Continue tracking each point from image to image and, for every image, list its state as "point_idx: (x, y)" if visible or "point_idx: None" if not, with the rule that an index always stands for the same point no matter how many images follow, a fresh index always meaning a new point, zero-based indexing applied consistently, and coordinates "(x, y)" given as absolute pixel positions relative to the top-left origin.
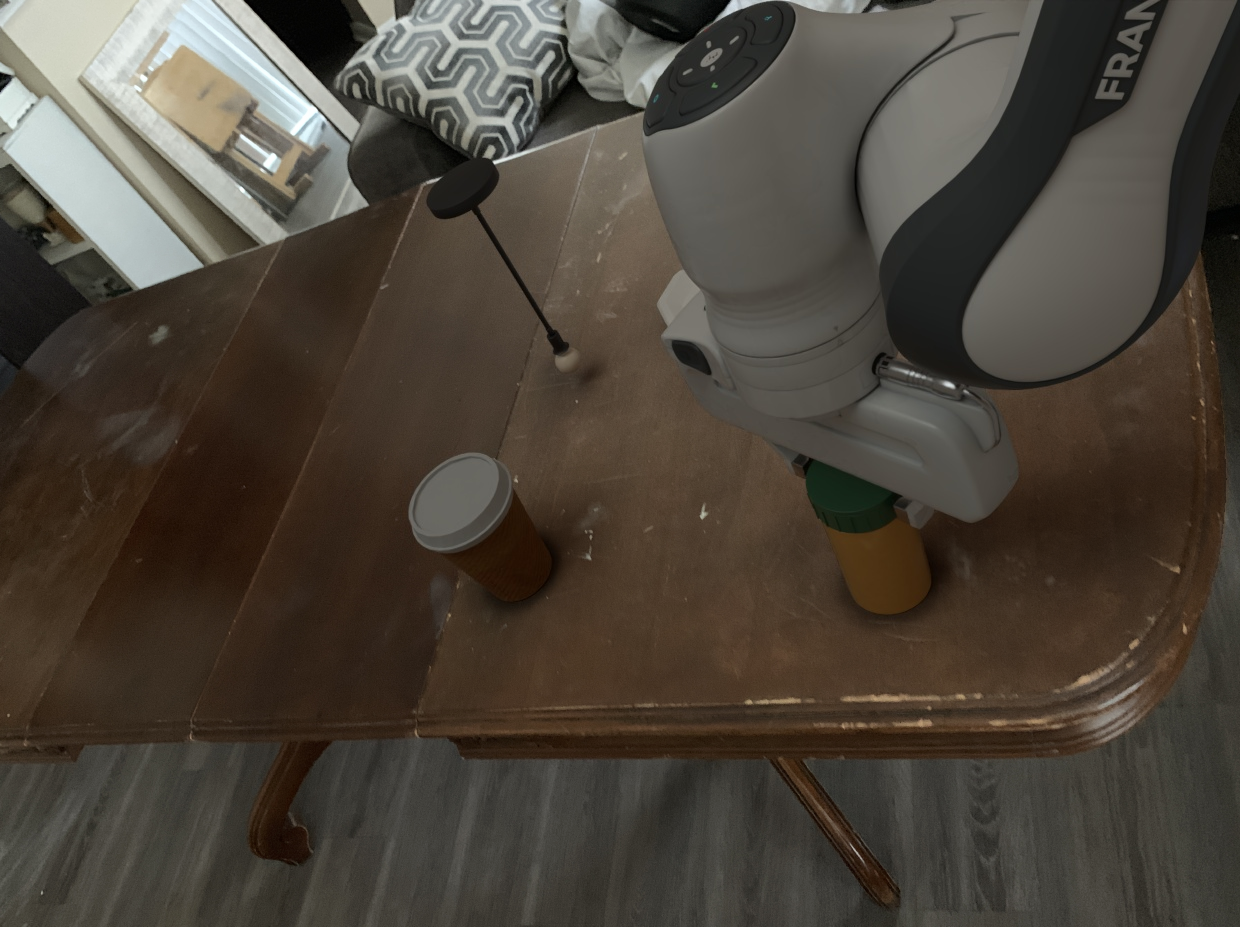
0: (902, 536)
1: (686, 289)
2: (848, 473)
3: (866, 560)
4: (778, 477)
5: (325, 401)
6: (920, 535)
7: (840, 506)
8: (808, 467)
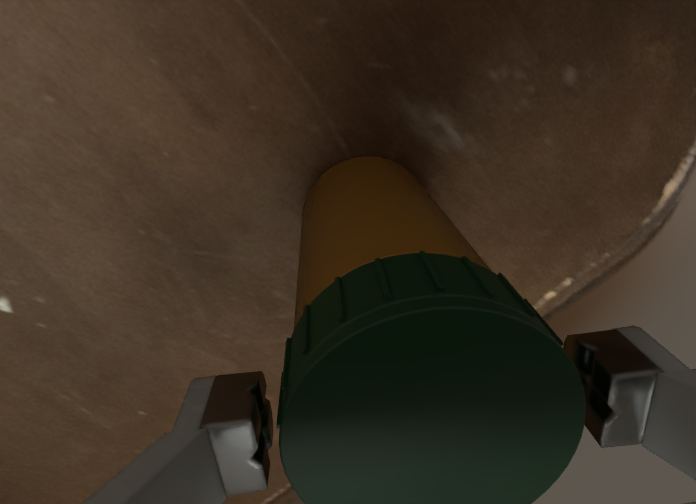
0: None
1: None
2: (422, 448)
3: None
4: (26, 164)
5: None
6: (435, 203)
7: None
8: (266, 450)
